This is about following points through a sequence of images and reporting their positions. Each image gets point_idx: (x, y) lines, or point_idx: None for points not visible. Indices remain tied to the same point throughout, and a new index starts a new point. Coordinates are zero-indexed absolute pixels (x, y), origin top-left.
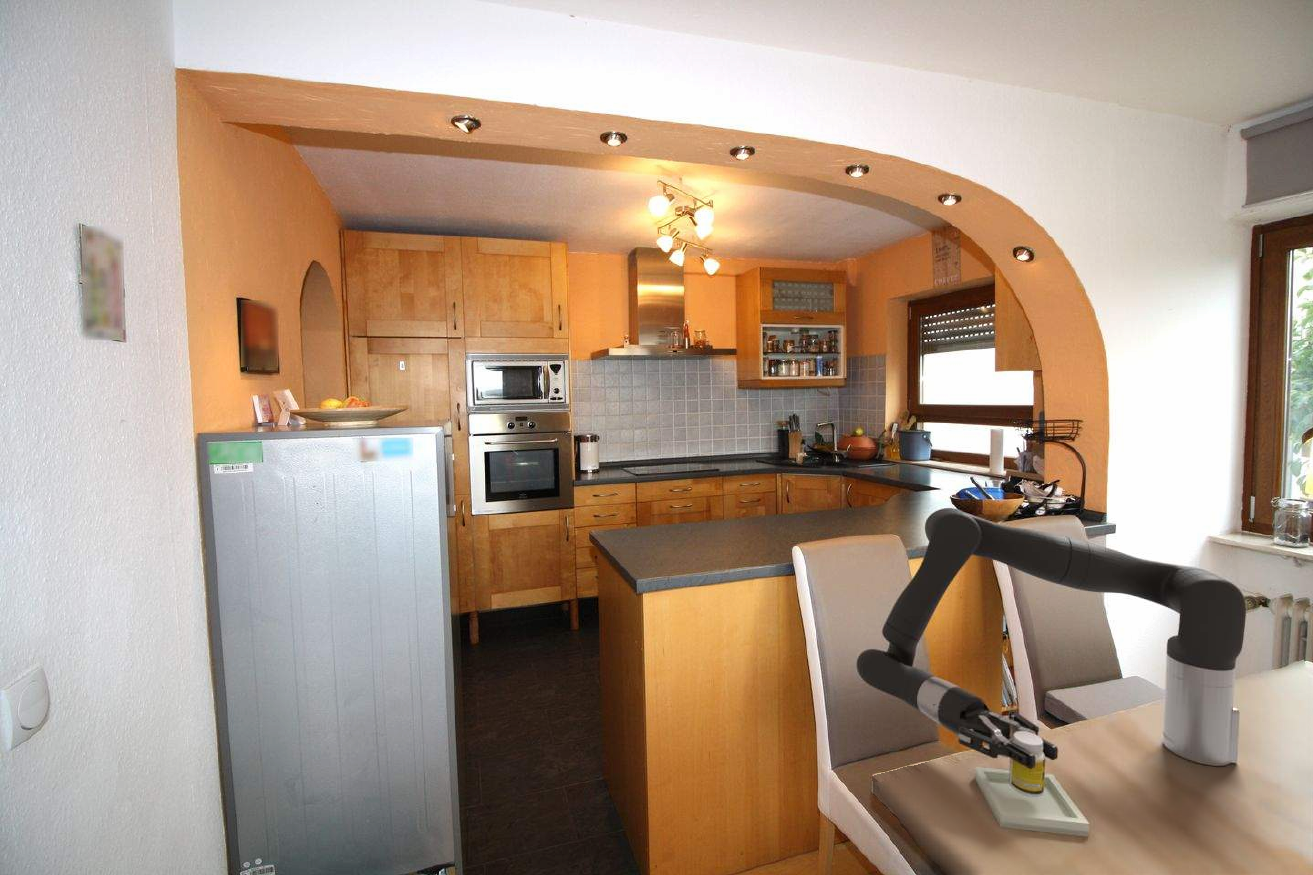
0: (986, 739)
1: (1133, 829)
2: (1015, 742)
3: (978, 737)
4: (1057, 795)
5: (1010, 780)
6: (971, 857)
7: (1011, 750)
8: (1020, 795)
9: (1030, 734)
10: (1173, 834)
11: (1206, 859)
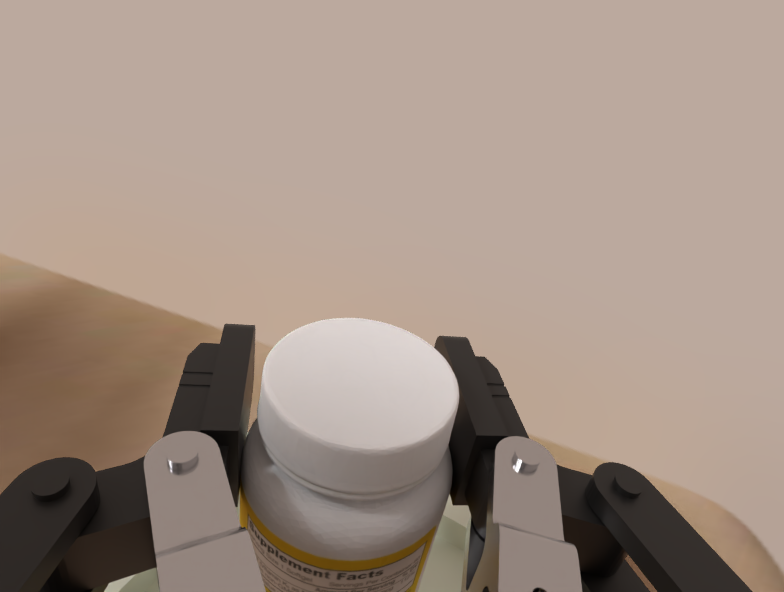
0: (678, 528)
1: (102, 402)
2: (450, 433)
3: (740, 585)
4: (147, 582)
5: None
6: (719, 523)
7: (521, 424)
8: None
9: (303, 385)
10: (29, 352)
11: (98, 301)
